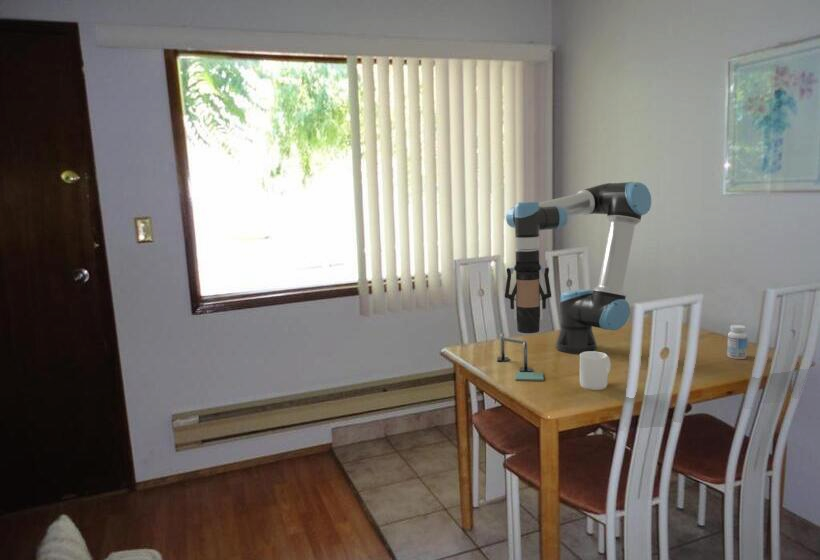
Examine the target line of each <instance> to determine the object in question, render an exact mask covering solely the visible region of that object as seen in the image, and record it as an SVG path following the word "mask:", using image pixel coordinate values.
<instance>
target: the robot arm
mask: <svg viewBox="0 0 820 560" xmlns="http://www.w3.org/2000/svg"><path fill="white" fill-rule="evenodd" d="M651 207H652V195H651V192H650V189H649V188H648V186H647V185H646V184H644V183H643V182H636V181H635V182H634V181H628V182H614V183H613V182H612V183H611V182H610V183H601V184H598V185H595V186H591V187H589V188H584V189H581V190H579V191H577V193H575V194H571V195H567V196H562V197H558V198H553V199H550V200H544V201H541V202H538V201H524V202H523V201H519V202H516V204H515V206H512V207H510V208H509V209H508V210H507V211H506V214H505V215H506V216H505V220H506V223H507V225H508V226H509V227H511V228H514V229H515V230H514V231H515V238H514V239H515V241H514V243H515V250H516V251H515V265H514V266H512V267H509V266H507V267H506V275H507V277H506V284H505V293H504V298H506V299H509V302H510V307H509V308H510V310H513V319H514V320H516V321H517V311H516V292H517V282H516V281H515V283H514V286H513V289H512V291H511V293H510V289H511V281H512V275H513V274H514V271H515V273H516V272H520V273H533V272H539V273H540V271H541V273H542V274H543V277H544V283H545V288H546V289H545V290H546V293H545V292H544V289H543V288H542V285H541V283H539V292H540V320H543V310H545V309H547V299H550V298H552V291H551V284H550V277H549V273H550V267H549V266H541V264H540V250H539V249H540V231H545V230H558V229H562V228H564V227H565V226H566V225H567V223H568V218H569V217H573V216H576V215H577V216H578V215H580V214H581V215H583V216H588V215H596V214H597V215H599V214H600V215H606V216H607V217H606V218H607V219H608V221H609V222H610V223H609V228H608V232H607V233H608V234H607V238H606V241H605V242H606V243H605V247H604V253H603V258H602V264H601V268H600V274H599V279H598V285H597V286H596V287H594V288H593V289H590V288H586V289H585V288H584V289H583V288H582V289H581V288H580V289H573V290H572V289H571V290H566V291H563V292H562V293H560V300H559V307H560V308H559V309H560V329H559V333H558V335H557V339H556V343H555V348H556V350H558V351H559V352H563V353H567V354H580V353H582V352H587V351H597V341H596V339H595V336H594V335H595V334H594V332H593V328H597V329H602V330H605V331H618V330H621V328H622V327H624V326H625V325H626V324H627V322H628V321H629V318H630V314H631V307H630V303H629V302H628V301H627V300H626V298H627V297H626V296H627V294H625V292H624V290H623V289H624V284H625V279H626V275H627V274H626V273H627V270H628V269H627V268H628V264H629V263H628V262H629V258H630V253H631V249H632V248H631V247H632V244H633V238H634V233H635V228H636V225H637V224H639V223H641V219H642V216H644V215H646V214H648V212H649V211H650V209H651Z"/></svg>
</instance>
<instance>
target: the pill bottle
mask: <svg viewBox="0 0 820 560" xmlns="http://www.w3.org/2000/svg"><path fill="white" fill-rule="evenodd" d="M729 327H730V328H729V330H730V331H729V332H728V334H727V347H726V348H727V350H726V354H727V357H728V358H730V359H732V360H733V359H734V360H745V359H746V358H747V356H748V334H747V333H746V329H747V328H746V326H745V325H741V324H731V325H730V326H729Z"/></svg>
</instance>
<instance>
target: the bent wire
mask: <svg viewBox="0 0 820 560" xmlns="http://www.w3.org/2000/svg"><path fill="white" fill-rule="evenodd" d="M505 342H510V343H516V344H521V345H523V366H520V367H519V372H533V369H532V367H531V366H528V342H527V341H525V340H520V339H519V340H518V339H513V338H507V337H505V333H504V332H501V333H500V353H501V356H497V361H496V362H498V363H499V362H501V363H508V362H509V356H505Z"/></svg>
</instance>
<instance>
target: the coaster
mask: <svg viewBox="0 0 820 560" xmlns="http://www.w3.org/2000/svg"><path fill="white" fill-rule="evenodd" d="M543 373H544V372H543V371H542V372H541V371H535V372H534V371H532V372H520V371H515V381H524V382H525V381H526V382H527V381H528V382H530V381H531V382H544V380H545V379H544V374H543Z"/></svg>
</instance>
